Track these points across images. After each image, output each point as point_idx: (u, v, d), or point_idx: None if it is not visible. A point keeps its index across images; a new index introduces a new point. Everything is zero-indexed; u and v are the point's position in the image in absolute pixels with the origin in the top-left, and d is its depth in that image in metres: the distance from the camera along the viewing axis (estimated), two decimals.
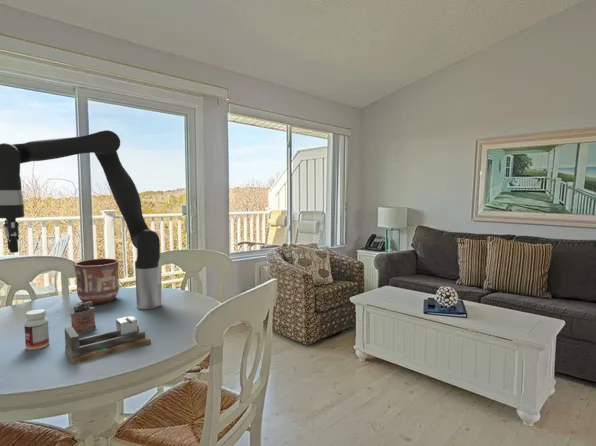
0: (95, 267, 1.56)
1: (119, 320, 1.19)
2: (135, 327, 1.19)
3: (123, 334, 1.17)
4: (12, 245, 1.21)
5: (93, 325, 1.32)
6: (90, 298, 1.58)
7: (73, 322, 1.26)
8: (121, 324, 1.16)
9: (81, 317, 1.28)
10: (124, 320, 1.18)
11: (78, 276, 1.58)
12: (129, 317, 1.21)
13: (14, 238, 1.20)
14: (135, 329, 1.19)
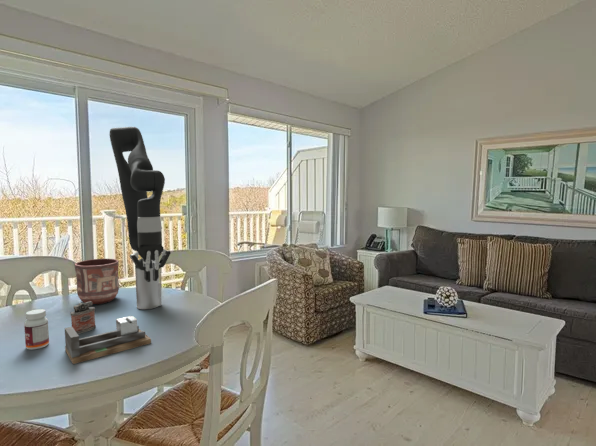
0: (95, 267, 1.56)
1: (119, 320, 1.19)
2: (135, 327, 1.19)
3: (123, 334, 1.17)
4: None
5: (93, 325, 1.32)
6: (90, 298, 1.58)
7: (73, 322, 1.26)
8: (121, 324, 1.16)
9: (81, 317, 1.28)
10: (124, 320, 1.18)
11: (78, 276, 1.58)
12: (129, 317, 1.21)
13: None
14: (135, 329, 1.19)
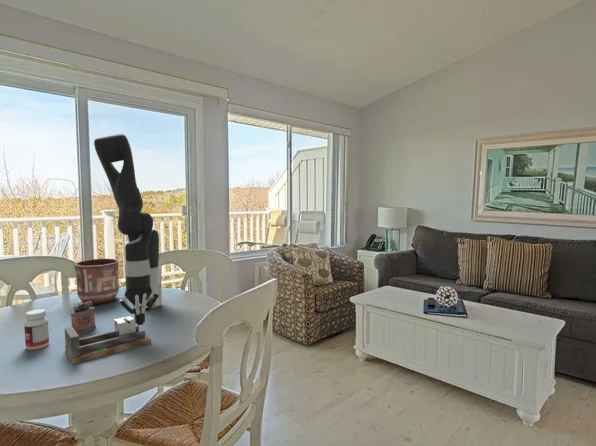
0: (95, 267, 1.56)
1: (117, 320, 1.18)
2: (133, 327, 1.19)
3: (121, 334, 1.16)
4: None
5: (93, 325, 1.32)
6: (90, 298, 1.58)
7: (73, 322, 1.26)
8: (119, 324, 1.16)
9: (81, 317, 1.28)
10: (122, 320, 1.18)
11: (78, 276, 1.58)
12: (127, 317, 1.21)
13: None
14: (133, 329, 1.19)
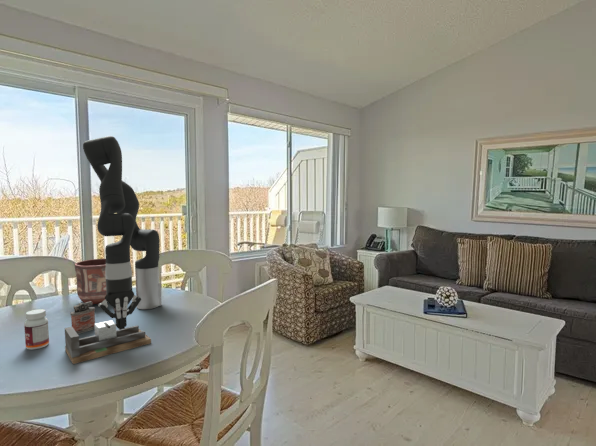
0: (95, 267, 1.56)
1: (97, 324, 1.15)
2: (114, 332, 1.15)
3: (101, 339, 1.13)
4: None
5: (93, 325, 1.32)
6: (90, 298, 1.58)
7: (73, 322, 1.26)
8: (99, 329, 1.12)
9: (81, 317, 1.28)
10: (102, 325, 1.14)
11: (78, 276, 1.58)
12: (108, 322, 1.17)
13: None
14: (114, 334, 1.15)
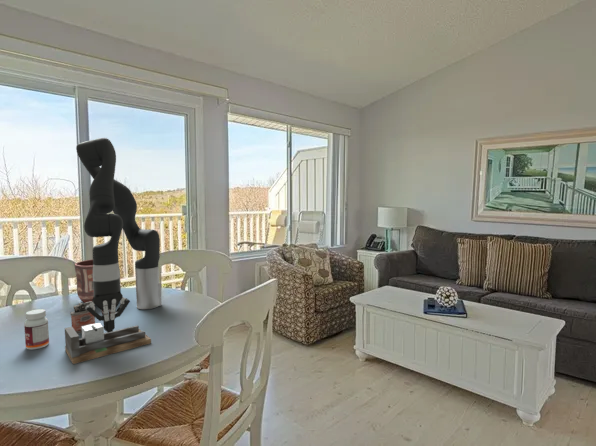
0: None
1: (84, 327, 1.12)
2: (101, 335, 1.12)
3: (88, 342, 1.10)
4: None
5: None
6: (90, 298, 1.58)
7: (73, 322, 1.26)
8: (86, 332, 1.10)
9: (81, 317, 1.28)
10: (90, 328, 1.12)
11: (78, 276, 1.58)
12: (96, 324, 1.15)
13: None
14: (101, 337, 1.13)
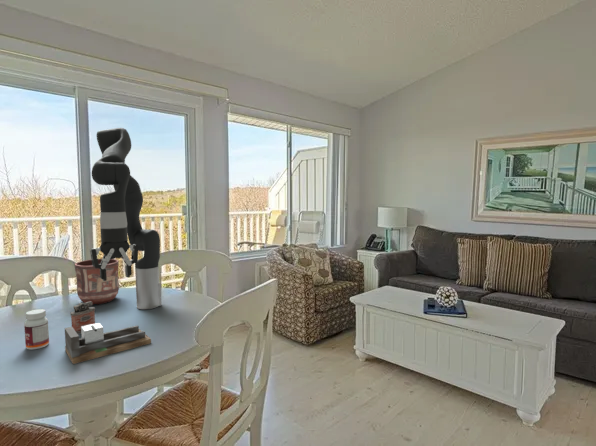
0: None
1: (83, 327, 1.12)
2: (101, 335, 1.12)
3: (88, 343, 1.10)
4: None
5: None
6: (90, 298, 1.58)
7: (73, 322, 1.26)
8: (85, 332, 1.10)
9: (81, 317, 1.28)
10: (89, 328, 1.12)
11: (78, 276, 1.58)
12: (95, 324, 1.15)
13: None
14: (101, 337, 1.12)
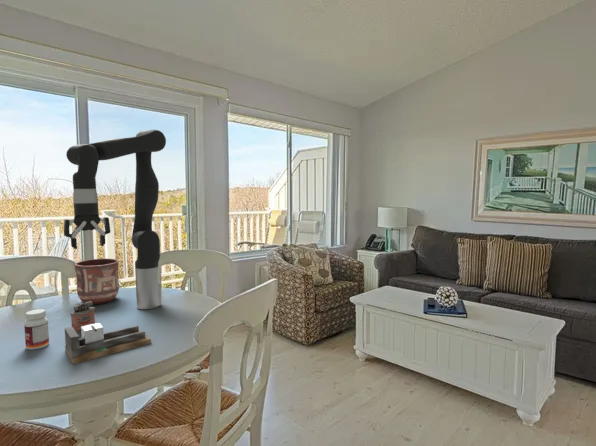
0: (95, 267, 1.56)
1: (83, 327, 1.12)
2: (101, 335, 1.12)
3: (88, 343, 1.10)
4: None
5: None
6: (90, 298, 1.58)
7: (73, 322, 1.26)
8: (85, 332, 1.10)
9: (81, 317, 1.28)
10: (89, 328, 1.12)
11: (78, 276, 1.58)
12: (95, 324, 1.15)
13: None
14: (101, 337, 1.12)
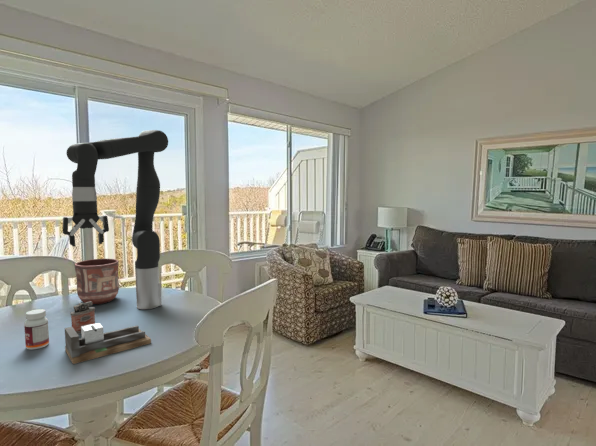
0: (95, 267, 1.56)
1: (83, 327, 1.12)
2: (101, 335, 1.12)
3: (88, 343, 1.10)
4: None
5: None
6: (90, 298, 1.58)
7: (73, 322, 1.26)
8: (85, 332, 1.10)
9: (81, 317, 1.28)
10: (89, 328, 1.12)
11: (78, 276, 1.58)
12: (95, 324, 1.15)
13: None
14: (101, 337, 1.12)
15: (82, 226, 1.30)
